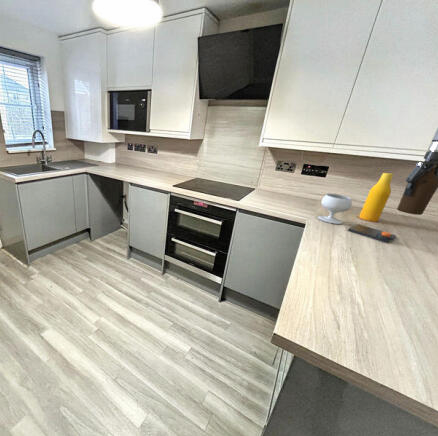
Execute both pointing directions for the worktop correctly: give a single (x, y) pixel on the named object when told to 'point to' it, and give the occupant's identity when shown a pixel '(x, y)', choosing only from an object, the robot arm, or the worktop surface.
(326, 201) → the chalice
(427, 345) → the worktop surface
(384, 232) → the tare button
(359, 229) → the scale
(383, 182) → the beer bottle
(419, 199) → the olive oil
